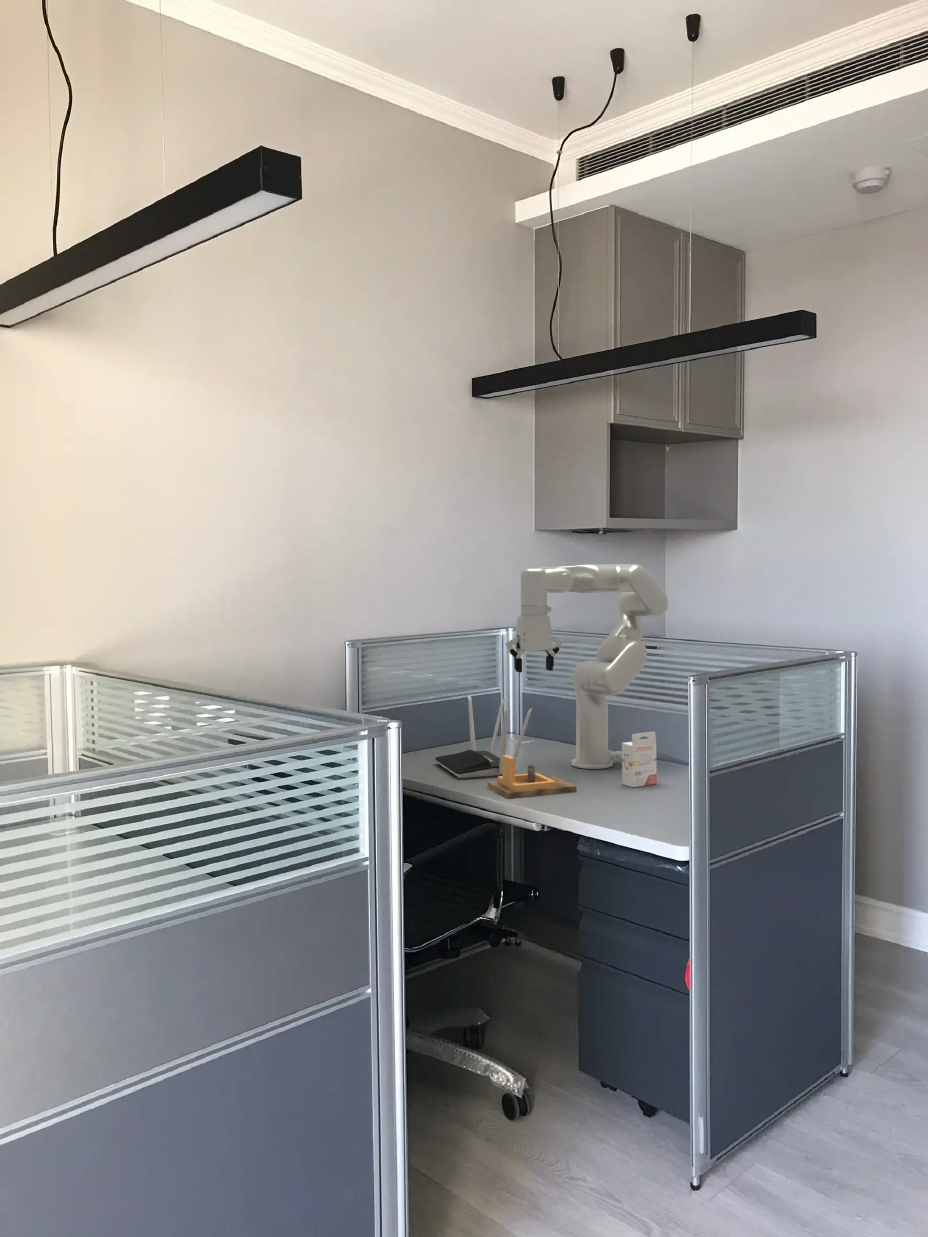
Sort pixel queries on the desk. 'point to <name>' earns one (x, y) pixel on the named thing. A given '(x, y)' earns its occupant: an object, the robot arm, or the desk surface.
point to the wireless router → (481, 761)
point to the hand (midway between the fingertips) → (534, 671)
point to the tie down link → (521, 777)
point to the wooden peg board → (509, 793)
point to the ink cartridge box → (639, 760)
